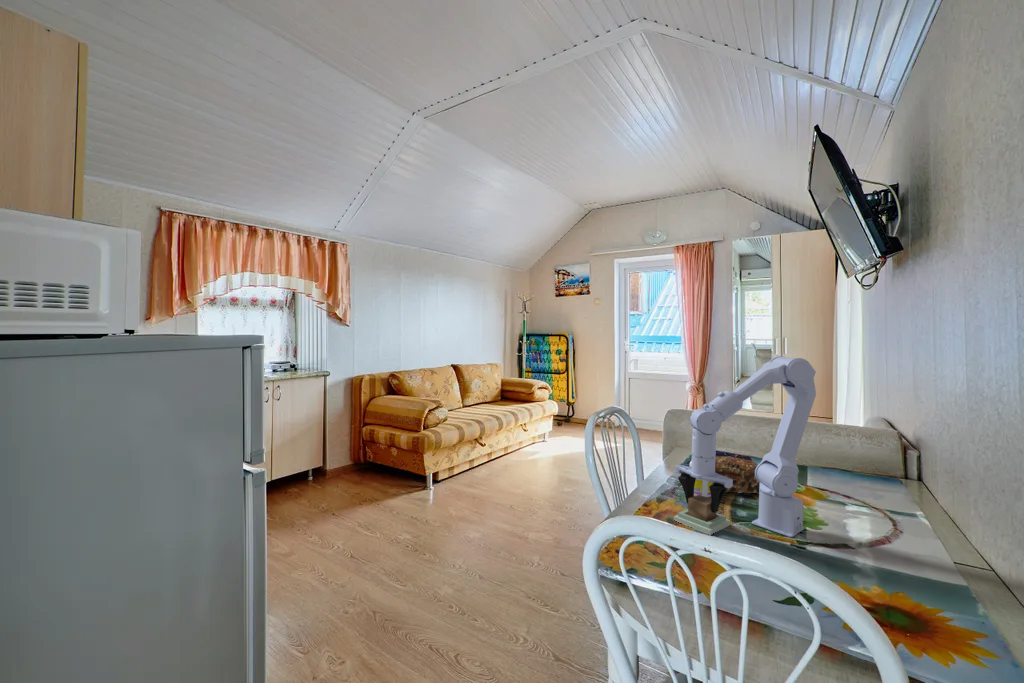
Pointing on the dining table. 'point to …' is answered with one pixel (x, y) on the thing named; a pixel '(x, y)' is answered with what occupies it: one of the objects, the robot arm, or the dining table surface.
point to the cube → (700, 508)
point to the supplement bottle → (702, 487)
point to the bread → (738, 473)
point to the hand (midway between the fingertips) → (702, 507)
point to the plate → (702, 522)
